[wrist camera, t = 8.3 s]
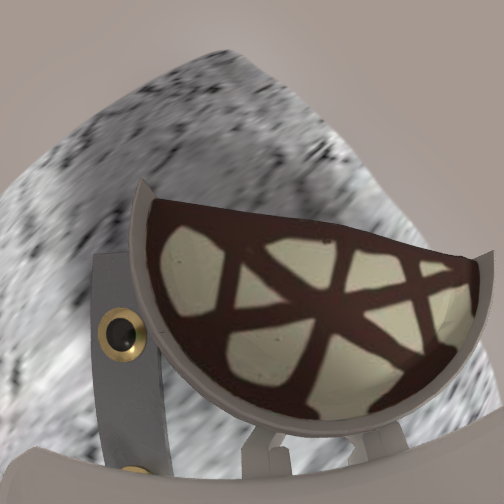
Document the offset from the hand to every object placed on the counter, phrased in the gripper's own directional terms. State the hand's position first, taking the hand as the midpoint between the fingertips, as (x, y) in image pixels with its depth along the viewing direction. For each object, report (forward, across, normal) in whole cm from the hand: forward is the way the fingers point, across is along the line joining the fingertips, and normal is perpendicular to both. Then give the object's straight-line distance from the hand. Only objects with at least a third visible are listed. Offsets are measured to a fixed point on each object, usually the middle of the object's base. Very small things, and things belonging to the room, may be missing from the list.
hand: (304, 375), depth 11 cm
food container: (+5, 0, +3) cm, 5 cm away
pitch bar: (+1, +10, +6) cm, 11 cm away
